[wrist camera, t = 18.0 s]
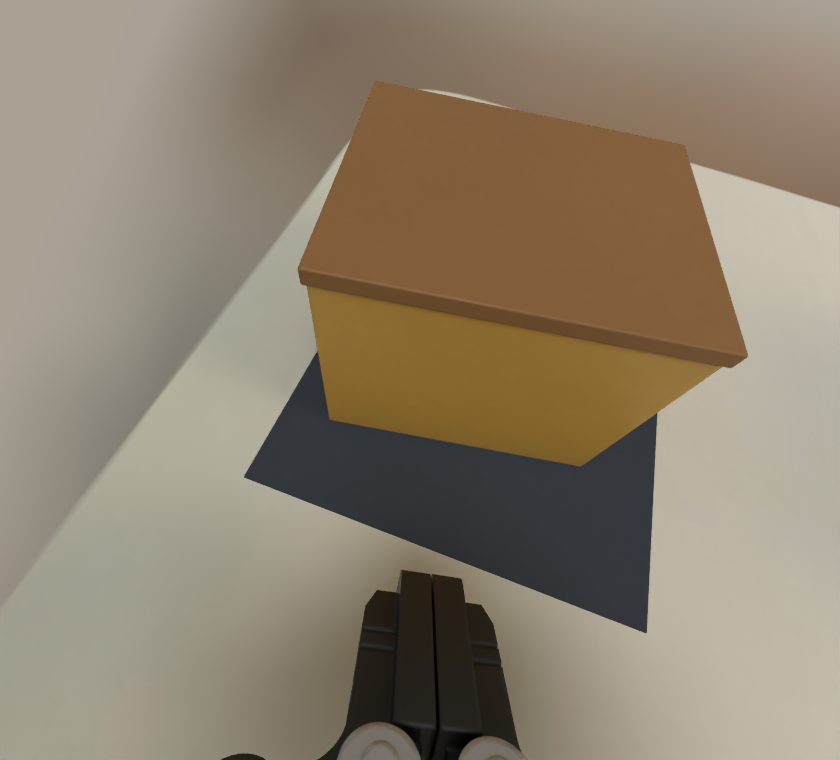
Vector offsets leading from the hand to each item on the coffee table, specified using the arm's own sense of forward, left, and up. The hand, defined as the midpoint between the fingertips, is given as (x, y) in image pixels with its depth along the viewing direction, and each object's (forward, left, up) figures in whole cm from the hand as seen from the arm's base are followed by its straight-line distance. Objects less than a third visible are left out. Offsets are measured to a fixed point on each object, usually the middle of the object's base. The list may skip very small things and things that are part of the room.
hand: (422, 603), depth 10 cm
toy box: (-1, +11, -5) cm, 12 cm away
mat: (+1, +13, -5) cm, 14 cm away
